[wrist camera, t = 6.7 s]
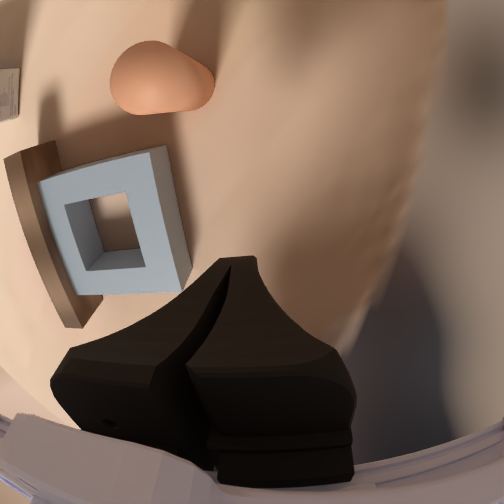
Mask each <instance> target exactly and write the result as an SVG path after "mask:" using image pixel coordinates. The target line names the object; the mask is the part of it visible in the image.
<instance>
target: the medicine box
mask: <svg viewBox="0 0 504 504" xmlns="http://www.w3.org/2000/svg"><path fill="white" fill-rule="evenodd" d="M19 73H20V69H19V68H11V69H0V123H1V122H5V121H8V120H12V119H15V118H17V117H18V92H19Z"/></svg>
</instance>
